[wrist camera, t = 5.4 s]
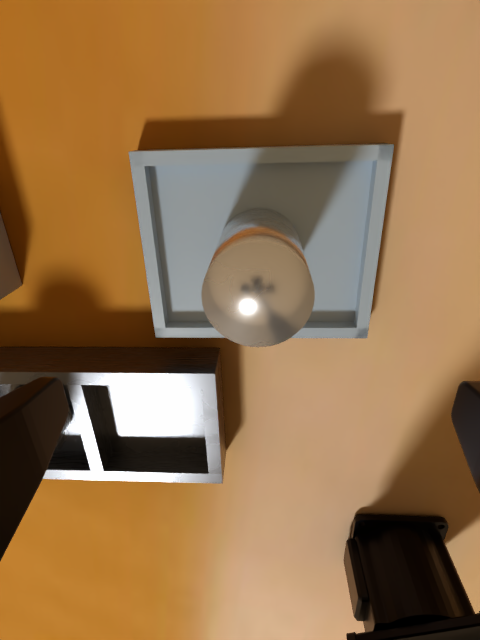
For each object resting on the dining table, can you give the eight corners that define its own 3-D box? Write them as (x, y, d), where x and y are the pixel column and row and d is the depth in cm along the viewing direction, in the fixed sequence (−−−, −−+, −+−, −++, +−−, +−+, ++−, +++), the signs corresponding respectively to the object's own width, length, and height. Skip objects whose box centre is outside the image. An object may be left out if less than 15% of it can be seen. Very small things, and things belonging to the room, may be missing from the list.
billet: (302, 207, 18) (318, 242, 13) (298, 287, 20) (311, 347, 14) (216, 208, 18) (197, 243, 13) (220, 287, 20) (205, 346, 15)
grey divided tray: (220, 348, 22) (215, 373, 20) (226, 451, 26) (222, 483, 24) (-35, 346, 23) (-68, 371, 21) (6, 446, 27) (-19, 477, 24)
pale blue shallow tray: (385, 143, 17) (393, 144, 16) (361, 327, 21) (367, 338, 20) (137, 150, 18) (128, 151, 17) (161, 327, 22) (155, 337, 21)
